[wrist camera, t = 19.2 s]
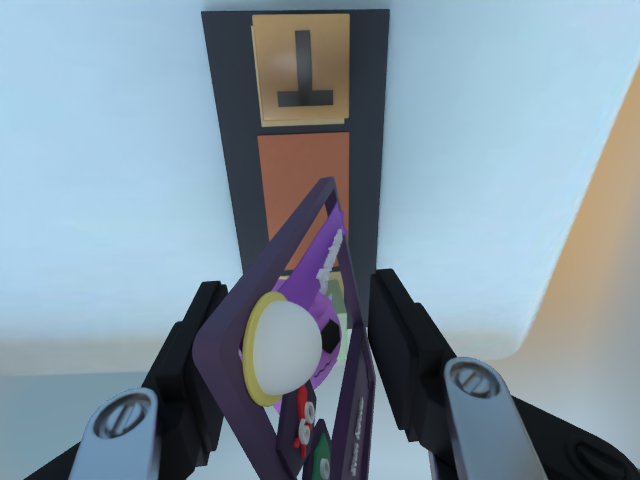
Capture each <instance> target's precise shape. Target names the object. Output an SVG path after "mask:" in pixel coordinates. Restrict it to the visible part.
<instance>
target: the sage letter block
mask: <svg viewBox="0 0 640 480" xmlns="http://www.w3.org/2000/svg"><path fill="white" fill-rule="evenodd" d="M326 282H327V283H328V289H327V292H326V295H325V296H326V297H328V296H329V295H330V294H331V293H332V307H333V309H334V310H335V312H336V314H337V316H338V318H339V321H340V325H341V332H342V338H341V346H340V351H339V354H338V357H337V361H343V360H347V311H346V308H345V304H344V300H343V297H342V293H341V290H340V286H339V282H338V280H328V281H325V283H326ZM320 289H321V286H320Z"/></svg>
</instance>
